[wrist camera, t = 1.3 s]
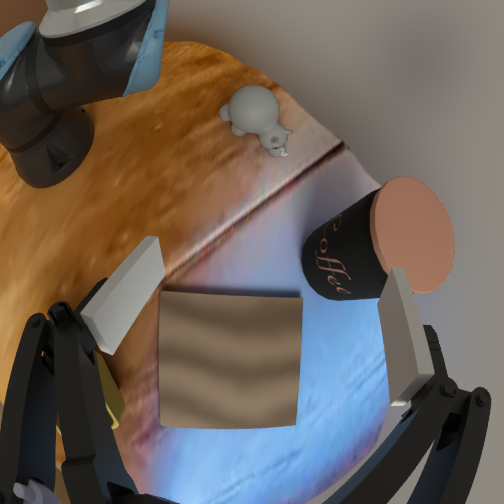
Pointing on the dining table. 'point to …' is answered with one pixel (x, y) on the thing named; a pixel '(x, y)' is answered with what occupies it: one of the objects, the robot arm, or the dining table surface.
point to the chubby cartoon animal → (257, 117)
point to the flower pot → (108, 395)
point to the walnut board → (229, 360)
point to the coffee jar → (382, 243)
